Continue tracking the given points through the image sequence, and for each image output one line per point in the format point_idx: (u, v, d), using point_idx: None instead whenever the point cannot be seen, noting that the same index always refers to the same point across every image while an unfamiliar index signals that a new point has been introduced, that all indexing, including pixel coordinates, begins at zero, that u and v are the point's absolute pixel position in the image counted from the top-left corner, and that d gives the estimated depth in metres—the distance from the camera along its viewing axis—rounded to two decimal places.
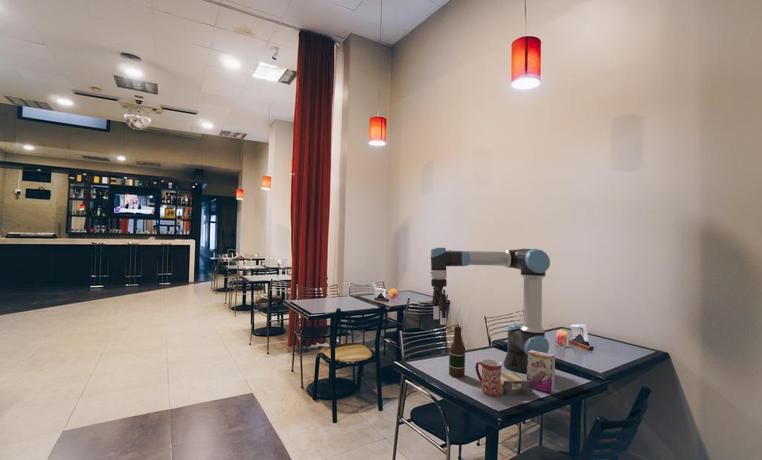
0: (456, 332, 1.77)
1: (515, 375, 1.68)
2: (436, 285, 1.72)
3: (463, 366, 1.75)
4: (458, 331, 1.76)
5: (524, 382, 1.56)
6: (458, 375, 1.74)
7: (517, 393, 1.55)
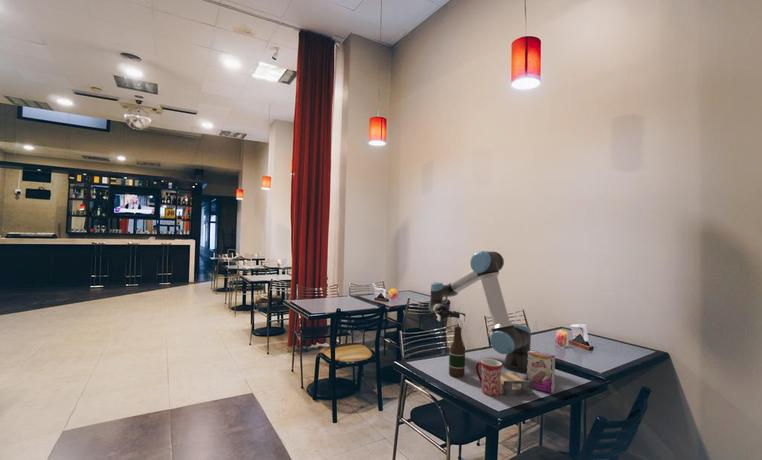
0: (456, 332, 1.77)
1: (515, 375, 1.68)
2: None
3: (463, 366, 1.75)
4: (458, 331, 1.77)
5: (524, 382, 1.56)
6: (458, 375, 1.74)
7: (517, 393, 1.55)
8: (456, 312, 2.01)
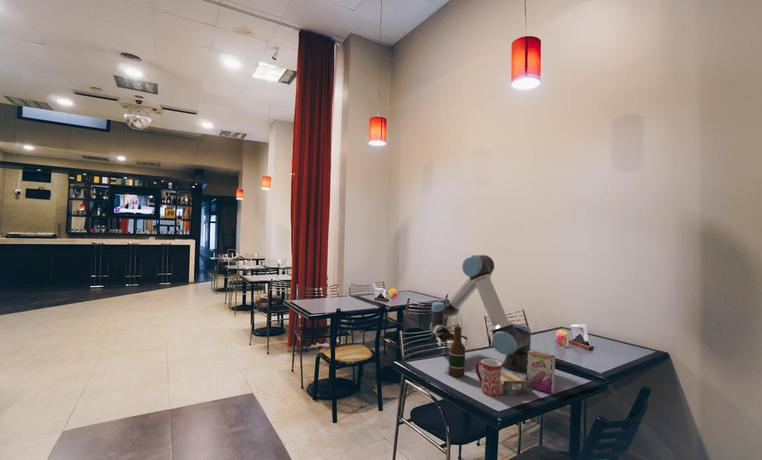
0: (456, 332, 1.77)
1: (515, 375, 1.68)
2: None
3: (463, 366, 1.75)
4: (458, 331, 1.76)
5: (524, 382, 1.56)
6: (458, 375, 1.74)
7: (517, 393, 1.55)
8: None
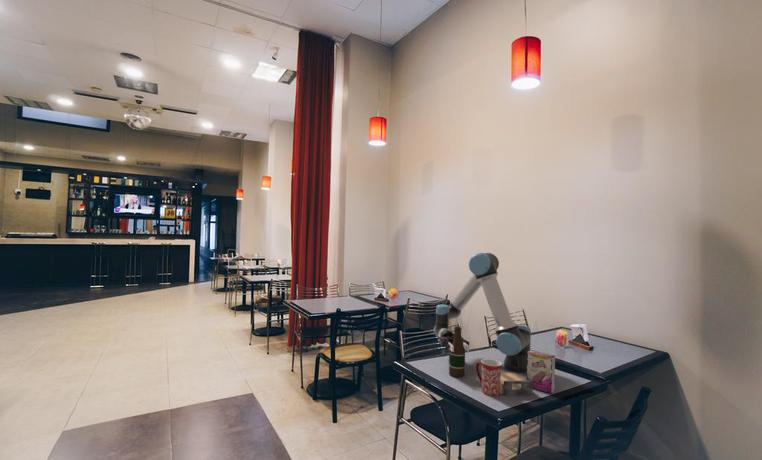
0: (456, 332, 1.77)
1: (515, 375, 1.68)
2: None
3: (463, 366, 1.75)
4: (458, 331, 1.76)
5: (524, 382, 1.56)
6: (458, 375, 1.74)
7: (517, 393, 1.55)
8: (462, 339, 1.86)
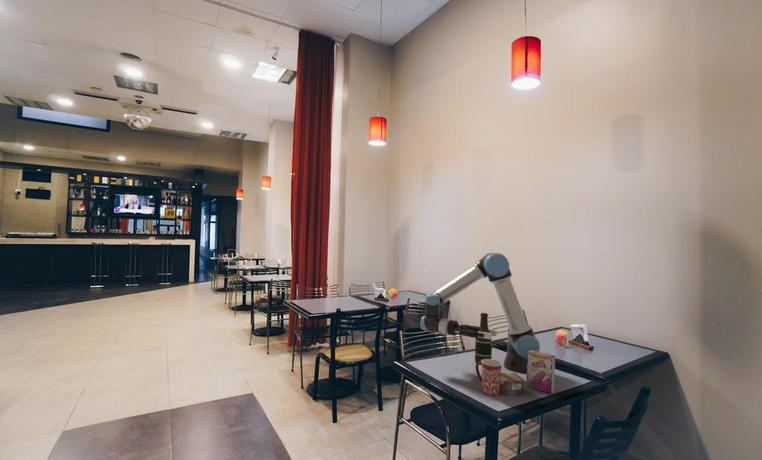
0: (485, 319, 1.70)
1: (515, 375, 1.68)
2: (452, 333, 1.77)
3: None
4: (487, 317, 1.71)
5: (524, 382, 1.56)
6: None
7: (517, 393, 1.55)
8: (471, 326, 1.80)
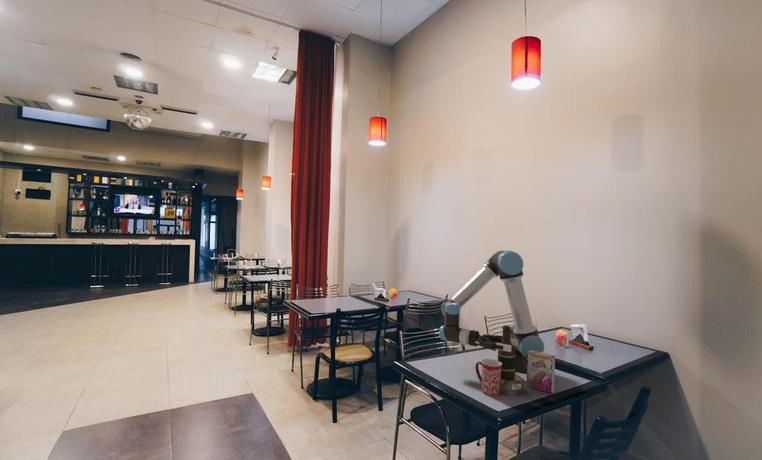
0: (508, 332, 1.63)
1: (515, 375, 1.68)
2: (473, 344, 1.71)
3: None
4: (509, 330, 1.64)
5: (524, 382, 1.56)
6: (514, 377, 1.62)
7: (517, 393, 1.55)
8: (491, 335, 1.76)
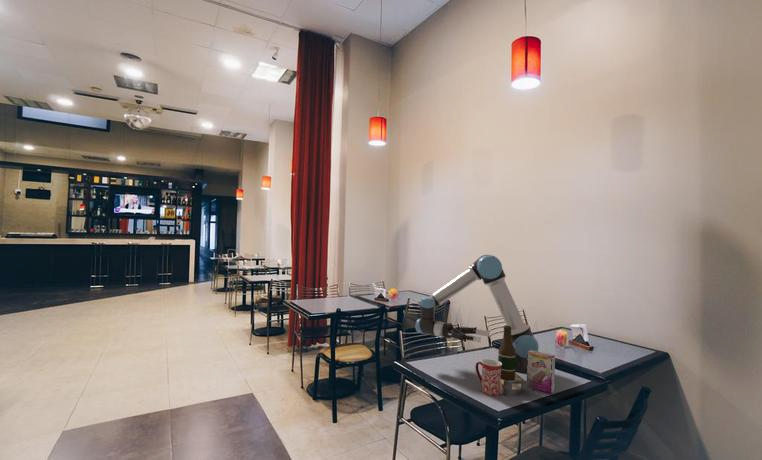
0: (509, 332, 1.64)
1: (515, 375, 1.68)
2: (447, 335, 1.79)
3: None
4: (510, 330, 1.64)
5: (524, 382, 1.56)
6: (514, 377, 1.62)
7: (517, 393, 1.55)
8: (464, 327, 1.84)
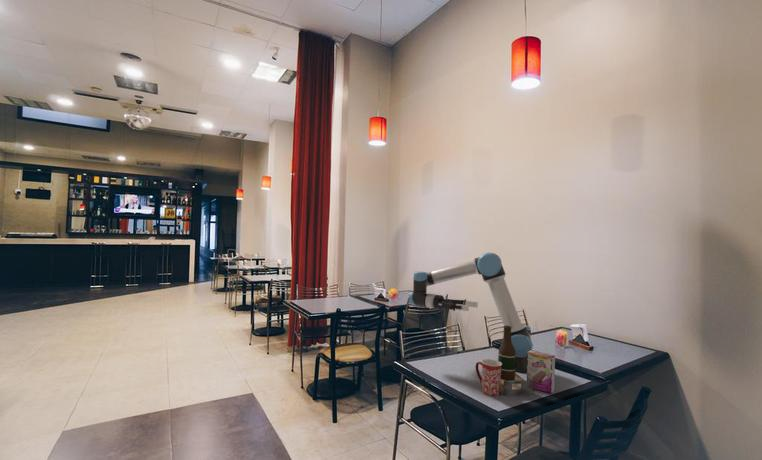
0: (509, 332, 1.64)
1: (515, 375, 1.68)
2: (438, 306, 1.89)
3: None
4: (510, 330, 1.64)
5: (524, 382, 1.56)
6: (514, 377, 1.62)
7: (517, 393, 1.55)
8: (455, 300, 1.94)
